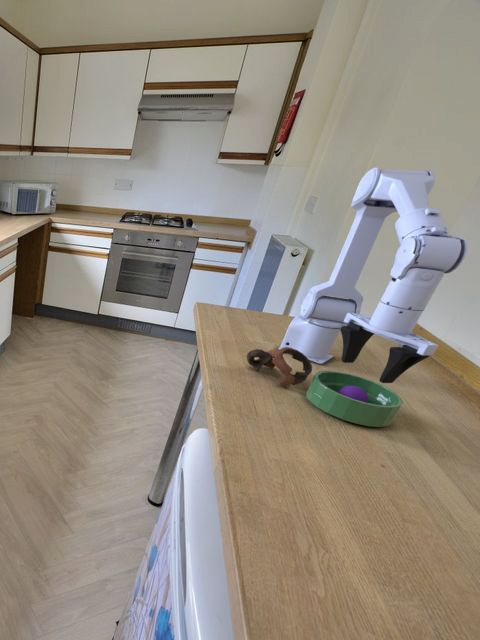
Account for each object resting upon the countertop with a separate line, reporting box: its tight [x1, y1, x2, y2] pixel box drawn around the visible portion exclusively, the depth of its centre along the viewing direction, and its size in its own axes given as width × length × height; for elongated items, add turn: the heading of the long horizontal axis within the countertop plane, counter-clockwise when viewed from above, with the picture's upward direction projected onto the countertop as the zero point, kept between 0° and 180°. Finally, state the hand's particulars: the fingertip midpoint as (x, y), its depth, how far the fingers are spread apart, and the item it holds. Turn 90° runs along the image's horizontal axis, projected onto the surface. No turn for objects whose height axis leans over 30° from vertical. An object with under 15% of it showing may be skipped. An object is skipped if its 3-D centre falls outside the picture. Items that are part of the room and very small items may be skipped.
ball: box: [338, 386, 368, 403], centre depth 81 cm, size 4×4×4 cm
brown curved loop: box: [246, 347, 313, 388], centre depth 91 cm, size 12×10×8 cm
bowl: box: [305, 370, 404, 428], centre depth 81 cm, size 13×13×5 cm
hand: (365, 371), depth 78 cm, fingers open, 7 cm apart
